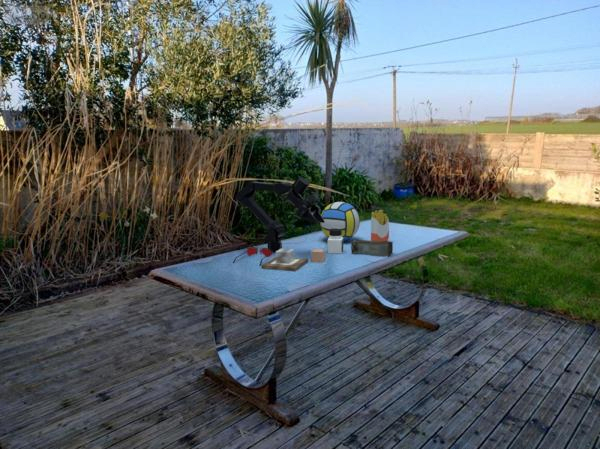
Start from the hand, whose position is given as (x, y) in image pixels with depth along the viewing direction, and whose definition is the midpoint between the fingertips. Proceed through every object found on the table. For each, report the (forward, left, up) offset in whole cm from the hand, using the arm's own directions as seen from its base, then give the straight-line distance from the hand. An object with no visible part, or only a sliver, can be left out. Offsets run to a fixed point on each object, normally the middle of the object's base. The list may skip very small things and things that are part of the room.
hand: (320, 222), depth 201 cm
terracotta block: (+1, -7, -17) cm, 18 cm away
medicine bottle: (+4, +12, -17) cm, 22 cm away
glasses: (-29, -14, -18) cm, 37 cm away
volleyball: (-1, +39, -17) cm, 43 cm away
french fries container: (+22, +37, -17) cm, 47 cm away
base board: (-11, -18, -17) cm, 27 cm away
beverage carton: (+22, +14, -17) cm, 31 cm away
